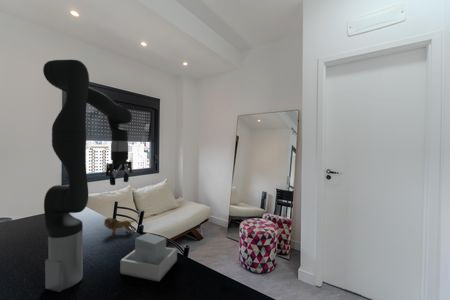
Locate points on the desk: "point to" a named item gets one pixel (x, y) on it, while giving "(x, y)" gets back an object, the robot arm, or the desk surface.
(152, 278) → the tray
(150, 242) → the skincare box
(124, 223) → the lion figurine
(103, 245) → the desk surface
